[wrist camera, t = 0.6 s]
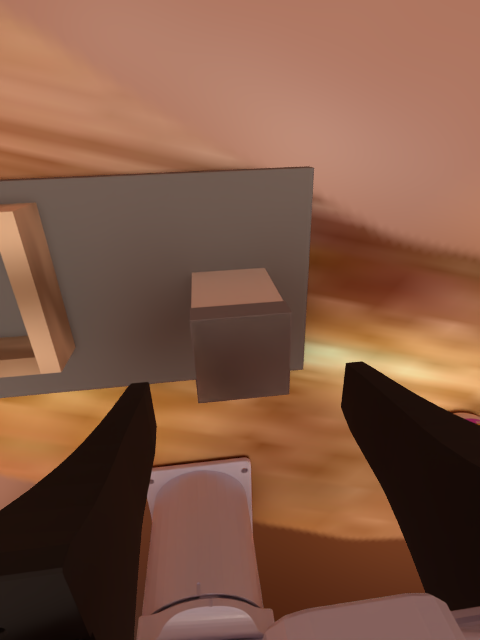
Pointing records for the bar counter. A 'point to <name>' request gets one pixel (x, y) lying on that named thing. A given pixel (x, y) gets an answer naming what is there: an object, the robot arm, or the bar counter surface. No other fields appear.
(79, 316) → the mat
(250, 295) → the plug
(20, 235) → the frame
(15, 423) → the bar counter surface
